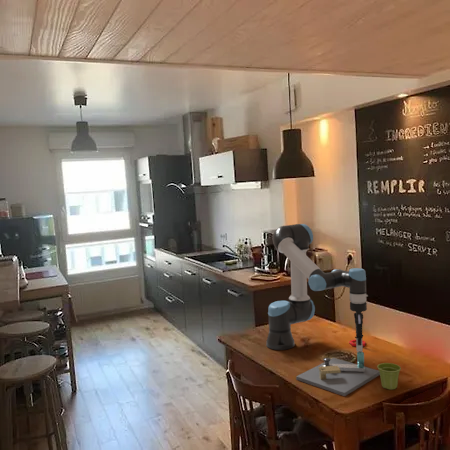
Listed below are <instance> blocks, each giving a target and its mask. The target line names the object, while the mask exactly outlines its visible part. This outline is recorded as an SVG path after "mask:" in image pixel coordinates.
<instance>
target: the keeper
mask: <svg viewBox="0 0 450 450" xmlns="http://www.w3.org/2000/svg"><path fill="white" fill-rule="evenodd" d="M318 369H319V377H320V379H321V380H323V379H326V374H329V373H341V370H340V369H339V367H338V366H325V367H318Z"/></svg>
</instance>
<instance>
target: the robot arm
mask: <svg viewBox="0 0 450 450" xmlns="http://www.w3.org/2000/svg"><path fill="white" fill-rule="evenodd" d="M313 241H314V234H313V231H312V228H310V226H308V225H307V224H306V223H296V224H289V225H288V224H287V225H281V226H279V227H278V228H276V229H274V232H273V234H272V244H273V246H274V248H275V249H276V250H277V251H278V253H281V254H283V255H284V256H286V258H287V259H288V260H289V261H290V287H291V288H290V289H291V291H290V293H291V294H290V295H289V297H288V300H277V301H274V302H271V303H270V304H269V305H268V312H267V314H268V315H267V316H268V335H267V339H266V341H265V342H266V347H267V348H269V349H271V350H276V351H283V350H284V351H286V350H290V349H293V348H294V347H295V345H296V344H295V340H294V337H293V334H292V330H291V328H292V326H291V325H294V324H297V323H298V324H299V323H303V322H307V321H310V320H312V318H313V317H314V316H315V311H316V307H315V304H314V301H313V300H312V299H311V297H310V295H308V286H309V289H310V290H312V291H314V292H320V291H324V290H330V289H335V288H340V287H345V288H349V301H350V302H349V309H350V311H351V312H354V313H353V316H354V323H355V336H354V339H355V340H356V342H355V343H356V346H355V347H356V352H363V348H364V346H363V345H362V340H363V337H364V334H363V324H364V320H363V319H364V314H363V313H364V312H366V311H367V309H368V308H367V307H368V306H367V305H368V304H367V297H369V295H368V294H367V277H366V276H367V274H366V270H365V269H363V268H360V267H355V268H354V267H352V268H350V269H349V270H343V269H341V268H340V269H333V270H331V272H324V270H322V269H321V268H320V267H319V266H318V265H317V264H316V263H315V262H314V261H313V260H312V259H311V258H310V257H309V256H307V251H308V250H309V249H310V247H309V246H310V245H311V244H312V243H313ZM307 280H308V281H307Z"/></svg>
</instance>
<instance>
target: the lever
mask: <svg viewBox="0 0 450 450" xmlns="http://www.w3.org/2000/svg"><path fill="white" fill-rule="evenodd" d="M330 359H331V358H329V357H323V362H322V363H320V364H321V367H325V366H338V367H339V369H340V370H341V371H358V372H365V368H364V367H365V352H358V351H356V360H357V362H356V364H357V365H354V364H355V363H354V364H330V363H329V361H330ZM324 362H325V363H324Z"/></svg>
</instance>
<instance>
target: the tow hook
mask: <svg viewBox="0 0 450 450" xmlns="http://www.w3.org/2000/svg"><path fill="white" fill-rule="evenodd" d="M348 342H349V345H351V347H356V339H351V340H349V341H348ZM362 345H363V347H365V346H366V341H365V340H363V339H362Z"/></svg>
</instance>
